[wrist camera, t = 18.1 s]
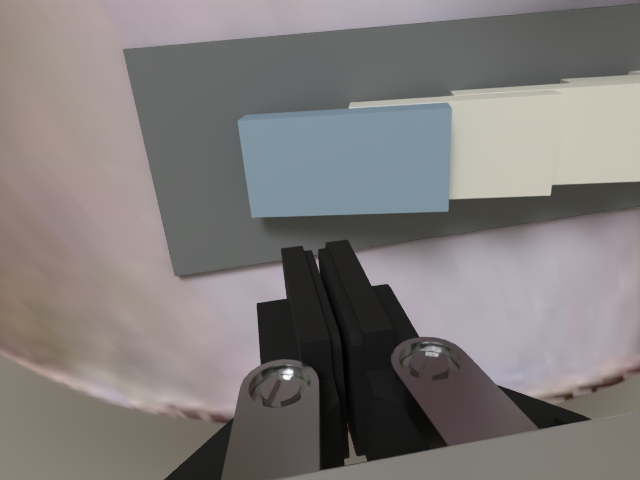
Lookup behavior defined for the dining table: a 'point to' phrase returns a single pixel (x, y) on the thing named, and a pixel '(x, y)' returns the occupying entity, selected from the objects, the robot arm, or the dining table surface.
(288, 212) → the domino placed
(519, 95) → the domino
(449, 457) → the robot arm
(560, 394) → the dining table surface
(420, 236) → the mat
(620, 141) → the domino
